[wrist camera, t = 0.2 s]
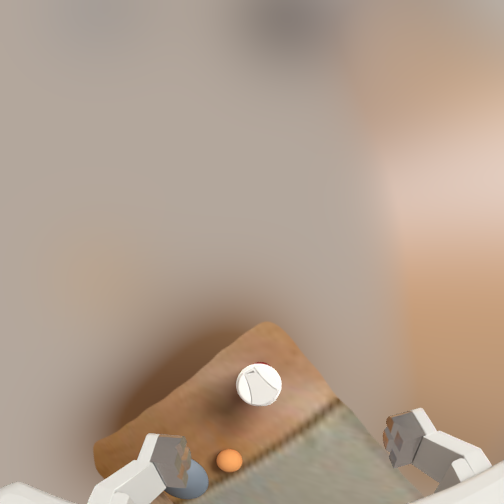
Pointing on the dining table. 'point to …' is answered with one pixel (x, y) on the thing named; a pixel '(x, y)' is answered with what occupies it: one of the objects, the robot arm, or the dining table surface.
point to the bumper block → (161, 499)
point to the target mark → (191, 483)
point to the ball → (229, 460)
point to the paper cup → (258, 384)
